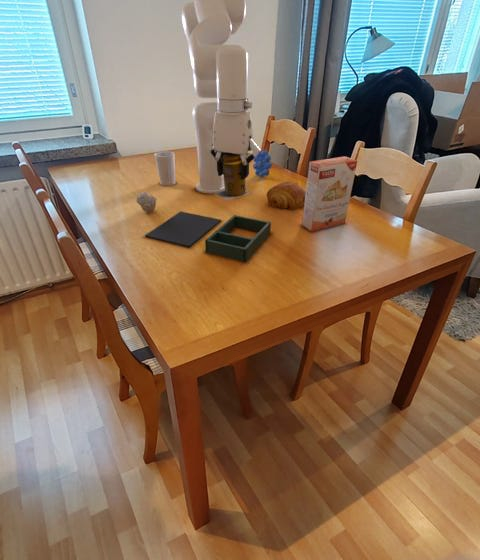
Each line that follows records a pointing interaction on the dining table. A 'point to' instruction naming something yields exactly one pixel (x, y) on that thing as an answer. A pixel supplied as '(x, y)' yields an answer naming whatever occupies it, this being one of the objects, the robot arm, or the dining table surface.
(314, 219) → the cracker box
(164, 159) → the cup
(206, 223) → the mat
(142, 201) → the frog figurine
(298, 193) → the croissant
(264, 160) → the grapes
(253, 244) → the caddy
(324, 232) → the dining table surface
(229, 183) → the condiment
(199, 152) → the robot arm
